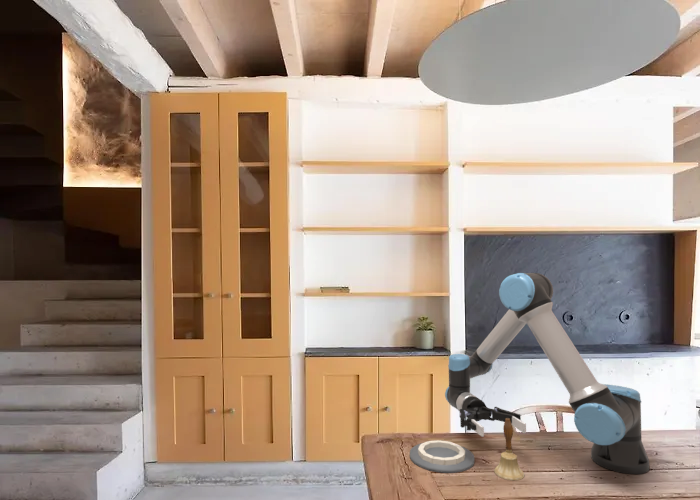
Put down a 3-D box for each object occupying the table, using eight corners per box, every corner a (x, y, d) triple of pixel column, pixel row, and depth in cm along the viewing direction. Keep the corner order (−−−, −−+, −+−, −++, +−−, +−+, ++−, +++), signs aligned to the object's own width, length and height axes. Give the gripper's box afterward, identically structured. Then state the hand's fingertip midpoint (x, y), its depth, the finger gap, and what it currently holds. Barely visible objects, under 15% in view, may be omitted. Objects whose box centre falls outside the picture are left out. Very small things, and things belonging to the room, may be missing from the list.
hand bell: (524, 482, 121) (523, 425, 122) (493, 477, 124) (492, 421, 124) (524, 469, 129) (523, 415, 129) (494, 465, 132) (493, 412, 132)
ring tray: (476, 449, 143) (476, 441, 143) (472, 477, 124) (472, 468, 124) (416, 441, 150) (416, 433, 150) (403, 467, 131) (403, 458, 131)
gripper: (505, 415, 151) (542, 439, 130) (437, 420, 147) (464, 446, 126) (504, 393, 152) (541, 414, 131) (437, 398, 147) (464, 420, 126)
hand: (504, 430), depth 128 cm, fingers open, 13 cm apart
